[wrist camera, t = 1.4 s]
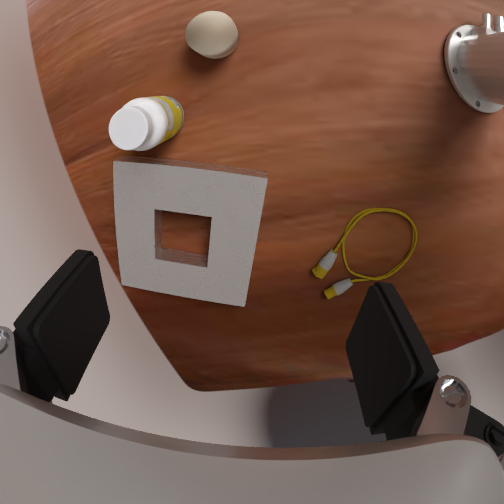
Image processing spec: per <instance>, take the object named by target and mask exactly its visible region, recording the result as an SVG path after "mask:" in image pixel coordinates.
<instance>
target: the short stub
mask: <svg viewBox="0 0 504 504" xmlns="http://www.w3.org/2000/svg"><path fill="white" fill-rule="evenodd" d="M185 37H186V41H187V43H188V45H189V46H190V47H191V48H192V49H193V50H194V51H196V52H198V53H199V54H201V55H203V56H205V57H207V58H211V59H220V58H224V57H226V56H228V55H230V54H231V53H232V52H233V51H234V50H235V49H236V48H237V46H238V43H239V33H238V30H237V28H236V26H235V24H234V22H233V20H232V19H231V18H230V17H229V16H228V15H226V14H224V13H222V12H218V11H208V12H204V13H201V14H199V15H197V16H196V17H195V18H193V19H192V20H191V21H190V23H189V24H188V26H187V28H186V33H185Z"/></svg>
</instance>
